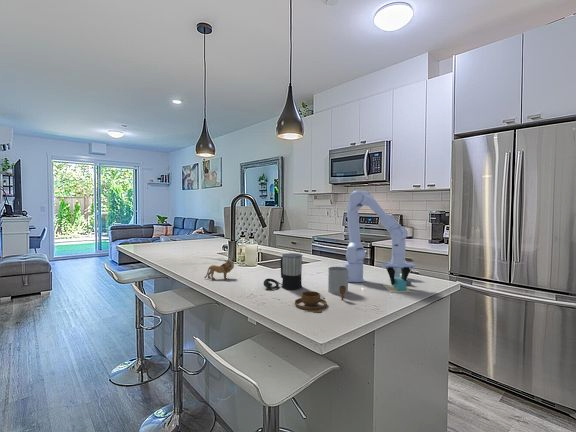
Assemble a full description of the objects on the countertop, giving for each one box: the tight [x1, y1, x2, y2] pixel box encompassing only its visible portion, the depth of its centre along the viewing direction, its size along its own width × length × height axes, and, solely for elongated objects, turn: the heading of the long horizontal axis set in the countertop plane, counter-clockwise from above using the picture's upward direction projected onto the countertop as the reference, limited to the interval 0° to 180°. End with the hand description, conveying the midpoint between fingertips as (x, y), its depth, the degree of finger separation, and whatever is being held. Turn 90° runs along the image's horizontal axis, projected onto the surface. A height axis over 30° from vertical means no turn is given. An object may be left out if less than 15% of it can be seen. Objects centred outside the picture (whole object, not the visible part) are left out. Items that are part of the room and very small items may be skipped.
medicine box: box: [389, 260, 408, 277], centre depth 164 cm, size 8×4×9 cm, turn 84°
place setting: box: [294, 286, 346, 314], centre depth 121 cm, size 18×20×6 cm
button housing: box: [406, 278, 412, 286], centre depth 152 cm, size 5×5×2 cm
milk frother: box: [263, 252, 303, 291], centre depth 145 cm, size 14×16×15 cm
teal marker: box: [390, 277, 407, 291], centre depth 145 cm, size 3×11×4 cm, turn 1°
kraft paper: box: [382, 284, 412, 293], centre depth 144 cm, size 9×12×1 cm
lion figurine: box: [204, 259, 235, 280], centre depth 162 cm, size 15×5×9 cm, turn 103°
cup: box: [327, 266, 349, 295], centre depth 139 cm, size 8×8×10 cm
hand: (397, 284), depth 145 cm, fingers open, 4 cm apart
